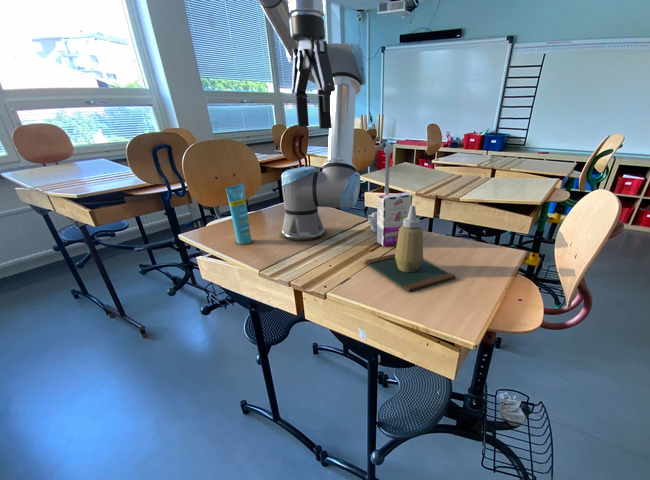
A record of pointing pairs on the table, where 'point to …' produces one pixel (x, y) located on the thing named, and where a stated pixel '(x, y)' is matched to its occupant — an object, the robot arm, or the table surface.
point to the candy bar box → (391, 216)
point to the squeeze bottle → (410, 243)
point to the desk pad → (409, 273)
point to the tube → (239, 213)
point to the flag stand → (387, 169)
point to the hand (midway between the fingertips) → (313, 127)
